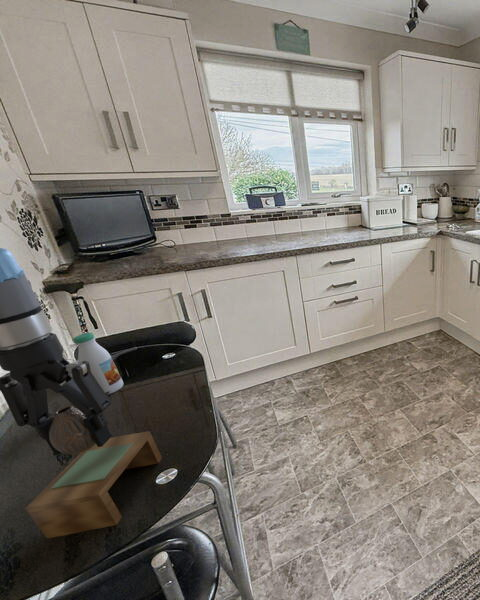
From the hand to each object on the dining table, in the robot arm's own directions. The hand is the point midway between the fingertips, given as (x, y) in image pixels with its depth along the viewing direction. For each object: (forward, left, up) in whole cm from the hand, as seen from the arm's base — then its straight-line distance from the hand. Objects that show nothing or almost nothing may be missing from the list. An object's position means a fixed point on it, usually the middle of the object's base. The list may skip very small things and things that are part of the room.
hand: (84, 445), depth 63 cm
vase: (0, 0, -1) cm, 1 cm away
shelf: (0, 0, -13) cm, 13 cm away
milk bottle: (-29, +45, -13) cm, 55 cm away
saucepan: (-39, +60, -13) cm, 73 cm away
